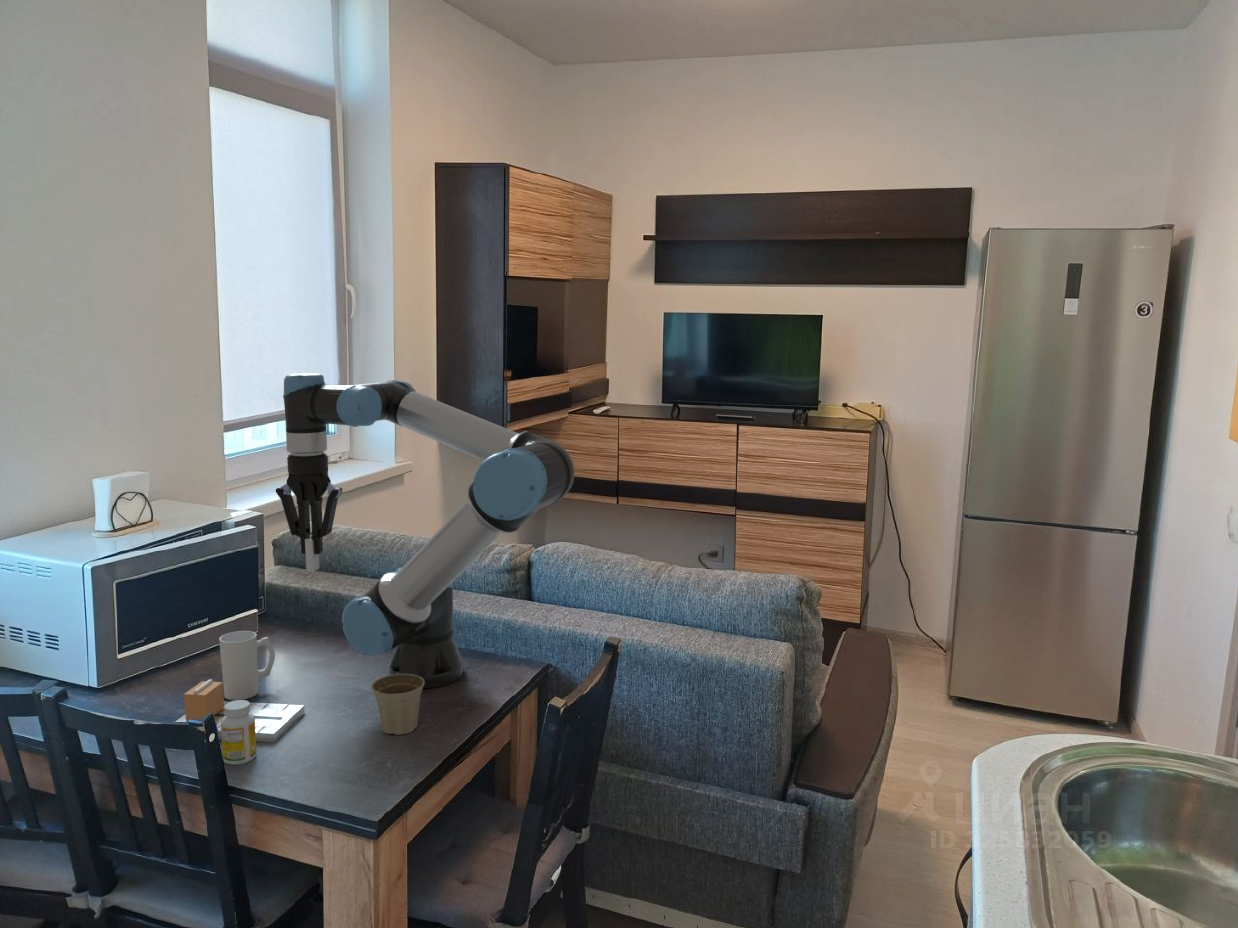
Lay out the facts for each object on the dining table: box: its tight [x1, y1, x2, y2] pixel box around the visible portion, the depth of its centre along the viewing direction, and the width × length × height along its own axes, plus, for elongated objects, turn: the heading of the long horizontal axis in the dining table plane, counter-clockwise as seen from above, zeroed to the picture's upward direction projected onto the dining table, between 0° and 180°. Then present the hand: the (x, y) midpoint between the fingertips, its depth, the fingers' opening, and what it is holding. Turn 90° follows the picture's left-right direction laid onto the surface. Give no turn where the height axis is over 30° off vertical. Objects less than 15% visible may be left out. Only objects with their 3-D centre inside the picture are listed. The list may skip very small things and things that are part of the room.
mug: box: [218, 630, 276, 701], centre depth 181 cm, size 10×7×12 cm, turn 121°
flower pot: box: [370, 674, 425, 736], centre depth 166 cm, size 9×9×9 cm
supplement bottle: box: [221, 699, 257, 766], centre depth 155 cm, size 5×5×10 cm
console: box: [174, 700, 305, 743], centre depth 168 cm, size 20×12×2 cm, turn 84°
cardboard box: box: [183, 678, 225, 720], centre depth 168 cm, size 4×6×6 cm, turn 174°
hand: (313, 569), depth 182 cm, fingers closed
